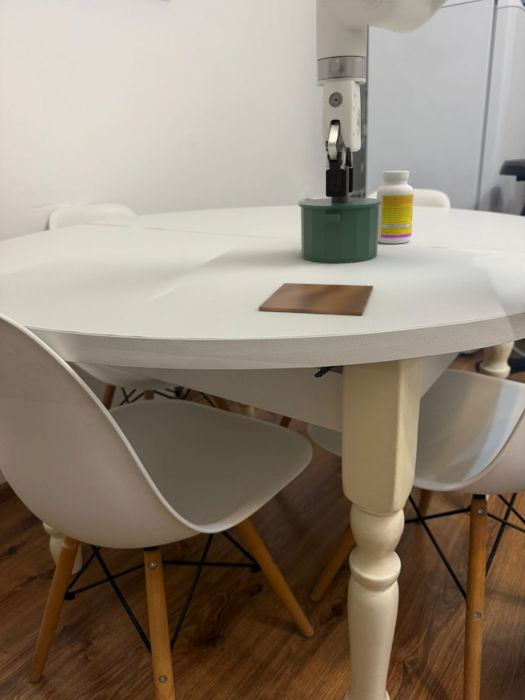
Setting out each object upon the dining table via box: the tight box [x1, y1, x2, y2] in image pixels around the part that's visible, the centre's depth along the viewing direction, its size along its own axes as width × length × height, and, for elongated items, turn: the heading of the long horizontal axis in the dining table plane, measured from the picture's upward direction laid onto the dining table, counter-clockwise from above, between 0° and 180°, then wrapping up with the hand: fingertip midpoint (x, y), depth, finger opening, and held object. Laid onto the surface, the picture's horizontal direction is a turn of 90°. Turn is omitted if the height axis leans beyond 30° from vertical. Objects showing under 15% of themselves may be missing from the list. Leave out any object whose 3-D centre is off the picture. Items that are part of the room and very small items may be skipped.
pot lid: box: [298, 166, 382, 209], centre depth 88 cm, size 14×14×7 cm
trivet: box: [258, 282, 374, 316], centre depth 66 cm, size 12×12×1 cm
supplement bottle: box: [376, 170, 414, 245], centre depth 101 cm, size 7×7×13 cm
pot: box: [300, 205, 379, 264], centre depth 91 cm, size 13×18×8 cm
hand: (339, 193), depth 88 cm, fingers open, 6 cm apart
